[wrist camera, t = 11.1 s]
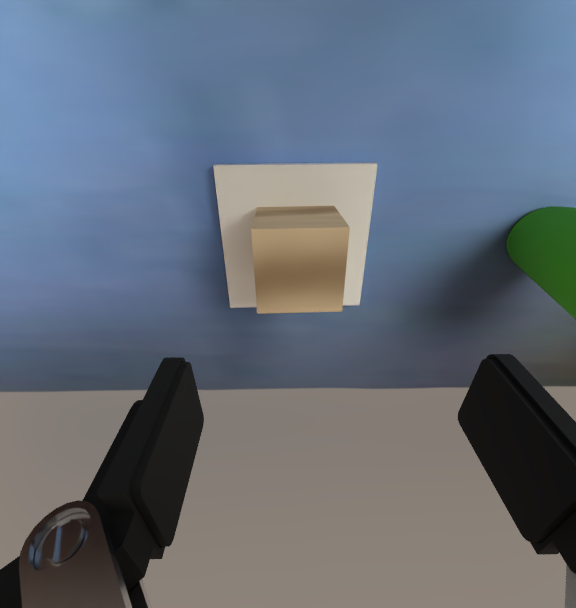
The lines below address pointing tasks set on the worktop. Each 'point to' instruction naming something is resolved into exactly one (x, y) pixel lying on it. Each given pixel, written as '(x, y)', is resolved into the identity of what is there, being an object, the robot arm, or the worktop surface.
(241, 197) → the panel
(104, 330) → the worktop surface
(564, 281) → the cup
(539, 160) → the worktop surface
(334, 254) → the block
